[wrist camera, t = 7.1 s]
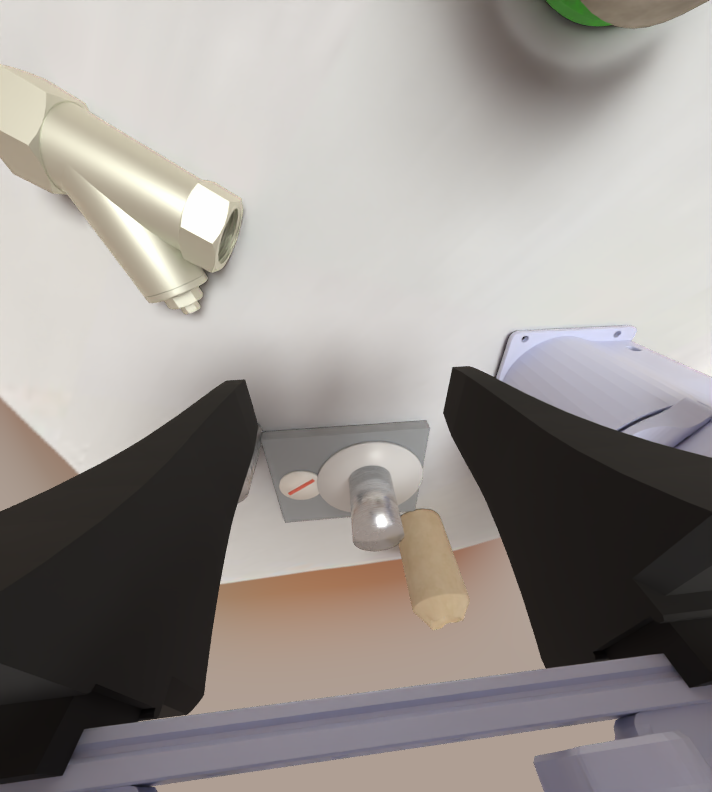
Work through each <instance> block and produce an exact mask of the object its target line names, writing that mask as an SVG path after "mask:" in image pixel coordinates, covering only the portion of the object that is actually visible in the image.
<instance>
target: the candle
mask: <svg viewBox="0 0 712 792" xmlns="http://www.w3.org/2000/svg"><path fill="white" fill-rule="evenodd" d="M401 521H402V526H403V530H404V538H403V540H402V541H401V542H400V543H399V548H400V553H401V558H402V562H403V567H404V571H405V577H406V581H407V586H408V591H409V596H410V600H411V605H412V610H413V612H414V613H415V614H416V615H417V616H418V617H419V618H420V619H421V620H423V621H424V622H425V623H426V624H427V625H428V626H429V627H430V628H431V629H432V630H437V629H441V628H442V627H443V626H444V625H445V624H447V623H451V622H459V621H461V620H464V616H465V613H466V610H467V607H468V605H469V602H470V599H469V596H468V593H467V590H466V588H465V585H464V582H463V579H462V577H461V574H460V571H459V568H458V566H457V563H456V560H455V557H454V554H453V551H452V549H451V546H450V543H449V540H448V538H447V535H446V532H445V529H444V527H443V524H442V521H441V519H440V517H439V515H438V514H437V513H436V512H435V511H432V510H428V509H418V510H415V511H410V512H407V513H405V514H404V515H402V516H401Z"/></svg>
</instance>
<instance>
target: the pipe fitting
mask: <svg viewBox="0 0 712 792" xmlns="http://www.w3.org/2000/svg"><path fill="white" fill-rule="evenodd" d="M0 158H1V159H2V160H3V162H4V163H5V164H6V165H7V167H8V168H9V169H10V170H11V172H12V173H13V174H15V175H17V176H19V177H21V178H23V179H25V180H27V181H29V182H31V183H33V184H35V185H37V186H39V187H41V188H43V189H45V190H47V191H49V192H51V193H53V194H64V195H68V196H69V197H70V198H71V200H72V201H73V202H74V204H75V205H76V206H77V208H78V209H79V210H80V212H81V213H82V214H83V216H84V217H85V218H86V220H87V221H88V222H89V224H90V225H91V227H92V228H93V229H94V231H95V232H96V233H97V235H98V236H99V237H100V239H101V240H102V241H103V243H104V244H105V245H106V247H107V248H108V249H109V251H110V252H111V253H112V255H113V256H114V257H115V258H116V260H117V261H118V262H119V264H120V265H121V266H122V268H123V269H124V270H125V272H126V273H127V274H128V276H129V277H130V278H131V280H132V281H133V282H134V284H135V285H136V286H137V288H138V289H139V290H140V292H141V293H142V294H143V296H144V297H145V298H146V300H147V301H148V302H149V303H157V302H161V301H164V302H165V303H166V304H167V306H168V307H169V309H180V308H181V310H182V311H183V313H184V314H190V313H193V312H195V311H197V310H199V309H200V307H201V306H200V305H199V303H198V302H197V301H198V300H200V299H201V298H202V296H203V293H202V291H201V290H200V288H199V286H200V285H202V284H203V283H205V282H206V281H207V279H208V278H207V276H206V274H205V272H204V271H203V269H205V270H207V271H209V272H211V273H213V272H216V271H219V270H221V269H222V268H223V267H224V265H225V264H226V262H227V261H228V259H229V257H230V255H231V253H232V251H233V248H234V246H235V243H236V240H237V237H238V234H239V230H240V226H241V222H242V215H243V205H242V199H241V198H240V197H238V196H236V195H235V194H233V193H232V192H230V191H228V190H227V189H225V188H223V187H222V186H220V185H218V184H217V183H215V182H212V181H207V180H201V179H200V178H198V177H196V176H195V175H193V174H191V173H190V172H188V171H186V170H185V169H183V168H181V167H180V166H178V165H176V164H175V163H173V162H171V161H170V160H168V159H166V158H165V157H163V156H161V155H160V154H158V153H157V152H155V151H153V150H152V149H150V148H148V147H147V146H145V145H143V144H142V143H140V142H138V141H137V140H135V139H133V138H132V137H130V136H128V135H127V134H125V133H123V132H122V131H120V130H118V129H117V128H115V127H113V126H112V125H110V124H108V123H107V122H105V121H103V120H102V119H100V118H98V117H97V116H95V115H94V114H92V113H90V112H89V110H88V108H87V106H86V104H85V103H84V102H82V101H81V100H79V99H77V98H76V97H74V96H72V95H71V94H69V93H68V92H66V91H64V90H63V89H61V88H59V87H58V86H56V85H54V84H53V83H51V82H50V81H48V80H46V79H44V78H41V77H39V76H36V75H34V74H31V73H28V72H26V71H23V70H20V69H17V68H13V67H10V66H6V65H1V64H0ZM202 268H203V269H202Z"/></svg>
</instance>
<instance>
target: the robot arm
mask: <svg viewBox="0 0 712 792" xmlns="http://www.w3.org/2000/svg"><path fill="white" fill-rule="evenodd" d="M636 332H637V328H636V327H634V326H630V325H627V326H607V327H587V328H567V329H547V330H527V331H515V332H514V333H512V334H511V335H510V337H509V339H508V342H507V346H506V349H505V352H504V355H503V358H502V361H501V364H500V367H499V371H498V374H497V377H496V378H495V377H493V376H491V375H489V374H486V373H484V372H482V371H480V370H478V369H476V368H473V367H470V366H465V367H453V368H452V373H451V378H450V382H449V387H448V392H447V397H446V402H445V407H444V411H443V414H444V417H445V419H446V422H447V425H448V428H449V431H450V433H451V436H452V438H453V440H454V442H455V443H456V445H457V447H458V449H459V451H460V453H461V455H462V457H463V458H464V460H465V462H466V464H467V466H468V468H469V469H470V471H471V473H472V475H473V477H474V478H475V480H476V482H477V484H478V486H479V488H480V490H481V492H482V494H483V496H484V498H485V500H486V502H487V504H488V507H489V509H490V512H491V514H492V516H493V519H494V521H495V524H496V526H497V529H498V531H499V534H500V536H501V539H502V542H503V544H504V547H505V549H506V552H507V555H508V557H509V560H510V563H511V566H512V568H513V571H514V574H515V577H516V580H517V583H518V585H519V588H520V591H521V594H522V597H523V600H524V603H525V606H526V610H527V613H528V616H529V619H530V622H531V626H532V629H533V632H534V635H535V639H536V642H537V645H538V649H539V652H540V655H541V659H542V661H543V663H544V665H545V668H546V669H540V670H532V671H524V672H517V673H509V674H502V675H495V676H487V677H479V678H471V679H463V680H456V681H449V682H440V683H433V684H426V685H418V686H411V687H403V688H395V689H387V690H379V691H372V692H364V693H357V694H349V695H341V696H334V697H326V698H318V699H311V700H303V701H295V702H288V703H280V704H273V705H265V706H257V707H250V708H242V709H234V710H227V711H219V712H212V713H204V714H196V715H189V716H181V715H187V714H188V713H189V712H191V711H192V710H193V709H194V707H195V706H196V705H197V704H198V703H199V701H200V700H201V698H202V697H203V695H204V690H205V681H206V673H207V666H208V658H209V651H210V644H211V636H212V629H213V623H214V617H215V610H216V603H217V598H218V591H219V586H220V580H221V575H222V570H223V564H224V559H225V554H226V549H227V544H228V539H229V534H230V530H231V525H232V521H233V517H234V514H235V510H236V507H237V504H238V501H239V497H240V494H241V491H242V488H243V485H244V482H245V479H246V476H247V473H248V470H249V466H250V463H251V460H252V457H253V453H254V450H255V444H256V438H257V432H258V423H257V419H256V416H255V412H254V409H253V405H252V402H251V399H250V395H249V392H248V388H247V385H246V381H245V380H230V381H225V382H224V383H222V384H220V385H219V386H217V387H216V388H215V389H213V390H212V391H210V392H209V393H208V394H206V395H205V396H204V397H202V398H201V399H200V400H198V401H197V402H196V403H194V404H193V405H191V406H190V407H189V408H187V409H186V410H185V411H183V412H182V413H181V414H179V415H178V416H176V417H175V418H173V419H172V420H170V421H169V422H167V423H166V424H165V425H163V426H162V427H160V428H159V429H157V430H156V431H154V432H153V433H151V434H150V435H148V436H147V437H145V438H144V439H142V440H140V441H139V442H137V443H135V444H134V445H132V446H130V447H129V448H127V449H125V450H124V451H122V452H120V453H118V454H117V455H115V456H113V457H111V458H110V459H108V460H106V461H104V462H102V463H101V464H99V465H97V466H95V467H93V468H91V469H89V470H87V471H85V472H83V473H81V474H79V475H77V476H75V477H73V478H71V479H69V480H67V481H65V482H63V483H61V484H59V485H57V486H55V487H53V488H51V489H49V490H47V491H45V492H43V493H41V494H38V495H36V496H34V497H32V498H30V499H27V500H25V501H23V502H21V503H19V504H17V505H14V506H12V507H10V508H7V509H5V510H3V511H0V792H157V790H156V788H155V787H151V786H156V785H163V784H170V783H177V782H184V781H191V780H197V779H204V778H212V777H218V776H225V775H232V774H239V773H246V772H253V771H260V770H266V769H273V768H281V767H287V766H294V765H301V764H307V763H314V762H322V761H329V760H336V759H343V758H350V757H356V756H363V755H370V754H377V753H384V752H391V751H397V750H405V749H411V748H418V747H425V746H432V745H439V744H445V743H453V742H460V741H466V740H474V739H480V738H488V737H494V736H501V735H508V734H515V733H522V732H529V731H535V730H542V729H550V728H557V727H563V726H570V725H577V724H584V723H591V722H597V721H605V720H612V719H617V720H616V721H615V725H614V731H615V740H614V741H609V742H603V743H597V744H592V745H585V746H579V747H576V748H573V749H568V750H564V751H559V752H554V753H549V754H544V755H538V756H535V758H534V765H535V768H536V771H537V774H538V776H539V779H540V782H541V784H542V787H543V790H544V792H712V377H710V376H708V375H706V374H704V373H702V372H699V371H697V370H695V369H693V368H690V367H688V366H686V365H684V364H682V363H679V362H677V361H675V360H673V359H670V358H668V357H666V356H664V355H662V354H659V353H657V352H655V351H653V350H651V349H648V348H646V347H644V346H642V345H639V344H637V343H635V342H633V341H632V339H633V337H634V336H635V334H636ZM524 336H525V338H524V339H523V340H521V339H522V338H523V337H524ZM173 716H181V717H173ZM165 717H173V718H166V719H158V720H151V719H157V718H165ZM143 720H151V721H143ZM138 721H143V722H138Z"/></svg>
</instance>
